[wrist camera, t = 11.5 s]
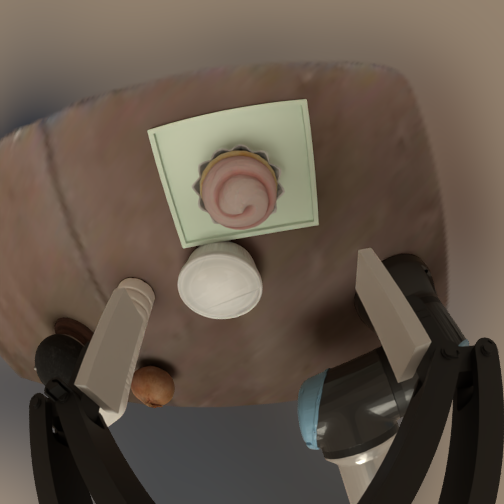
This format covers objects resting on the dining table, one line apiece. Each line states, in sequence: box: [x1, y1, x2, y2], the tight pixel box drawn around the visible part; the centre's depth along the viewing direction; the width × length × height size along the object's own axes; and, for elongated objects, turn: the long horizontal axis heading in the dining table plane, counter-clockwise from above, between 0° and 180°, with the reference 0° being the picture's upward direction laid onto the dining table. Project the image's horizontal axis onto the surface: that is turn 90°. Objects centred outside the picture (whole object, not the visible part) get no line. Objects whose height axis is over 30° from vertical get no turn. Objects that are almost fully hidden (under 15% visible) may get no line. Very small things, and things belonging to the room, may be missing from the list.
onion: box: [131, 366, 175, 408], centre depth 49 cm, size 10×9×10 cm
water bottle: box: [99, 278, 155, 427], centre depth 30 cm, size 9×6×25 cm
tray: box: [147, 99, 319, 248], centre depth 31 cm, size 18×16×1 cm
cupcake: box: [192, 144, 285, 230], centre depth 27 cm, size 9×9×10 cm
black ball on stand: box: [35, 318, 94, 386], centre depth 41 cm, size 13×13×15 cm
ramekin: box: [178, 241, 263, 319], centre depth 37 cm, size 11×11×5 cm
